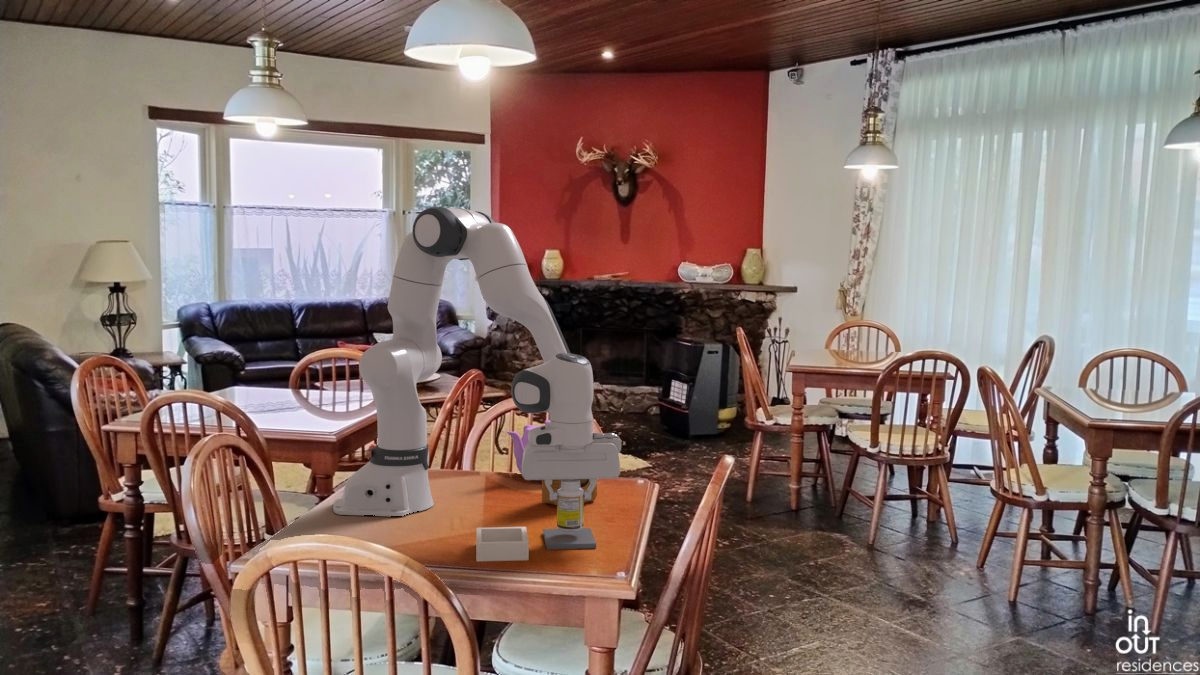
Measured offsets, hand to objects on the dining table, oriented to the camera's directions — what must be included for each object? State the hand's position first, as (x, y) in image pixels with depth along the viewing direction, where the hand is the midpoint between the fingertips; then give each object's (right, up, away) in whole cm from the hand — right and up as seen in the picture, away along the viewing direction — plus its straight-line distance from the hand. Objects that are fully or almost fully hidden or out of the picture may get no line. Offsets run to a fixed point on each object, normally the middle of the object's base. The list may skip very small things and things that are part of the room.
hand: (570, 499), depth 185 cm
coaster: (0, -9, +1) cm, 9 cm away
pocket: (-13, -9, -7) cm, 18 cm away
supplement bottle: (0, -6, +1) cm, 6 cm away
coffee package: (-1, -6, +29) cm, 30 cm away
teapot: (-7, -4, +52) cm, 53 cm away
